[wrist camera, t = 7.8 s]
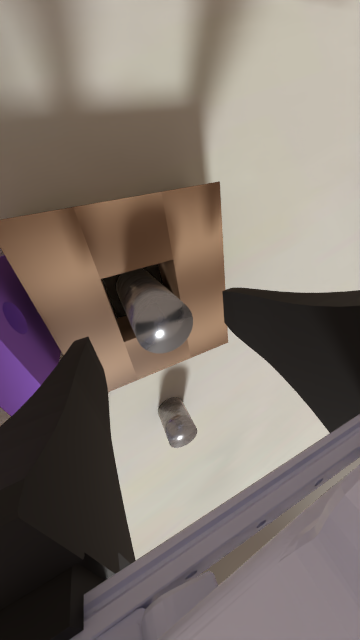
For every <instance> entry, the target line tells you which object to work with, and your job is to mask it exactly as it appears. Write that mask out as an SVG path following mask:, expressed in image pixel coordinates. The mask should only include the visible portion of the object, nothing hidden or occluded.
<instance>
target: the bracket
mask: <svg viewBox="0 0 360 640" xmlns="http://www.w3.org/2000/svg"><path fill="white" fill-rule="evenodd" d="M60 353H61V350H60V348H59V347H58V345H57V343H56V341H55V340H54V338H53V336H52V335H51V333H50V331H49V330H48V328H47V326H46V324H45V323H44V321H43V319H42V318H41V316H40V314H39V313H38V311H37V309H36V307H35V306H34V304H33V302H32V301H31V299H30V297H29V295H28V294H27V292H26V290H25V289H24V287H23V285H22V284H21V282H20V280H19V278H18V277H17V275H16V273H15V272H14V270H13V268H12V266H11V265H10V263H9V261H8V260H7V258H6V256H5V255H4V256H1V257H0V407H1V408H2V409H3V410H4V411H5V412H7V413H8V414H9V415H10V416H12V415H13V414H15V413H16V412H17V411H18V410H19V409H20V408H21V406H22V405H23V404H24V403H25V402H26V401H27V400H28V399H29V398H30V397H31V396H32V395H33V394H34V393H35V392H36V390H37V389H38V388H39V387H40V386H41V385H42V383H43V382H44V381H45V380H46V378H47V377H48V376H49V375H50V373H51V372H52V371H53V370H54V368H55V367H56V366H57V364H58V363H59V359H60Z"/></svg>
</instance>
